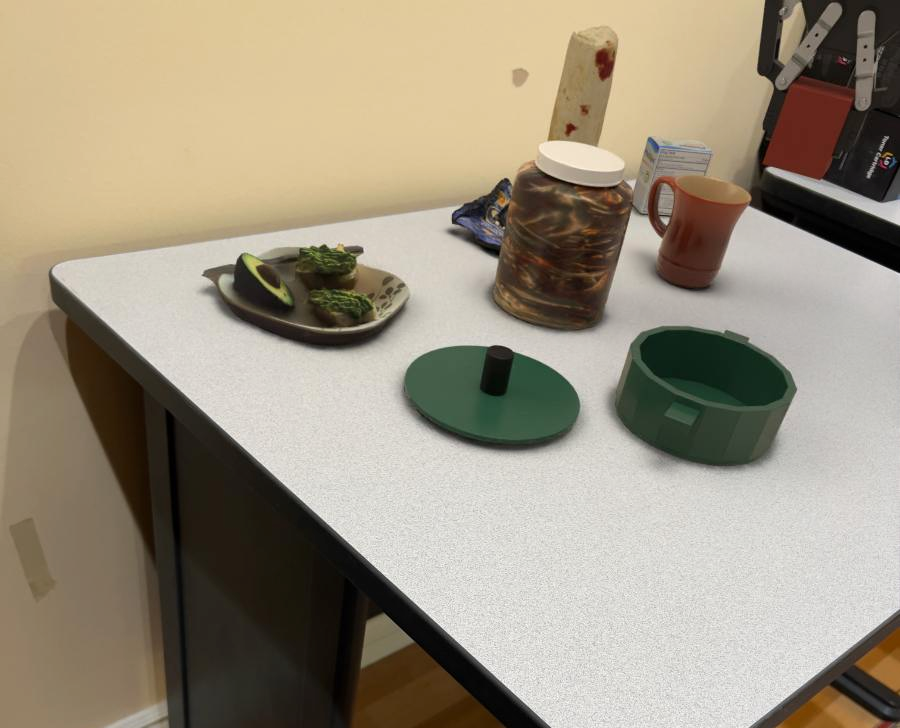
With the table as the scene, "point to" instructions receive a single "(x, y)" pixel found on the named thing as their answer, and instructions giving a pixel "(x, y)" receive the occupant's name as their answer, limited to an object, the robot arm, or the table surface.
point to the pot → (703, 394)
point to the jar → (563, 236)
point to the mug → (695, 227)
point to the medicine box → (668, 168)
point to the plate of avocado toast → (310, 293)
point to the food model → (584, 86)
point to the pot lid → (492, 394)
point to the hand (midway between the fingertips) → (803, 146)
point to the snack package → (486, 215)
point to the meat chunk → (809, 127)
